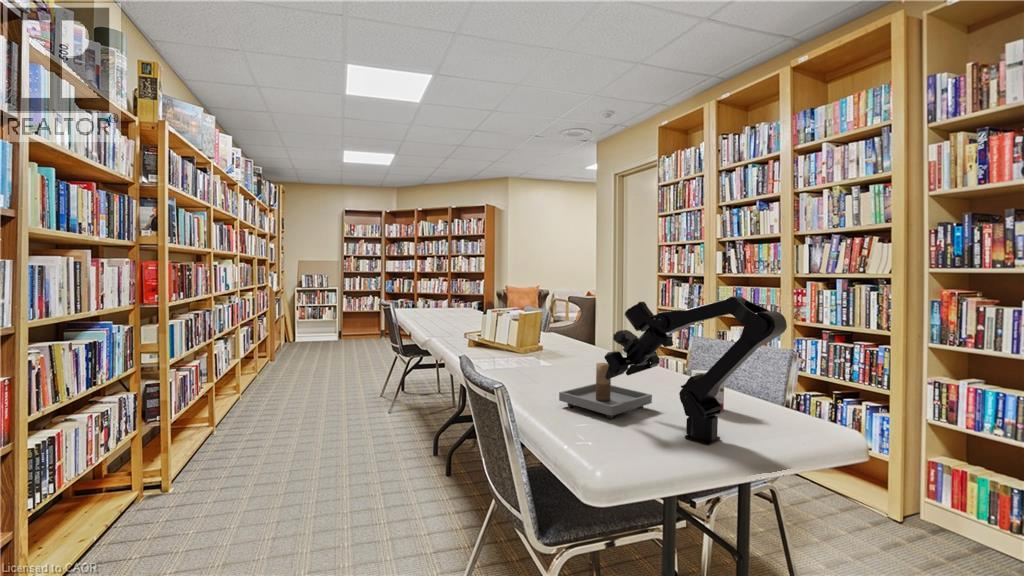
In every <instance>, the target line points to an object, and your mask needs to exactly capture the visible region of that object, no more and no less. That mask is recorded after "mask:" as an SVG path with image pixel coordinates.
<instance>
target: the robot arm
mask: <svg viewBox="0 0 1024 576" xmlns="http://www.w3.org/2000/svg"><path fill="white" fill-rule="evenodd" d="M728 315H731V316H733V317H734V318H735V320H736V321H738V322H739V323H740V324H742V325H743V326H744V327H743V328H742V331H741V334H740V337H739V338H738V340H736V342H735V343H734V344H733V345H732V346H731V347H729V348H728V350H727V351H726V352H725V353H724V354H723V355H722V356H721V357H720V358H719V359H718V360H717V361H716V362H715V363H714V364H713V365H712V366H711V367H710V368H709V369H708V370H706V371H707V373H706V374H705V375H704V374H700V375H696V376H690V377H688V378H687V381H686V382H685V383H683V385H680V388H681V390H680V391H679V394H678V395H679V399H680V403H681V404H682V407H683V410H684V414H685V416H686V417H687V418H686V425H685V426H686V431H685V433H686V435H684V439H687V440H690V441H694V442H696V443H699V444H703V445H707V446H709V445H710V446H711V444H713V443H715V442H718V441H721V437H720V436H718V425H719V424H718V423H719V422H718V420H719V419H718V418H719V416H717V415H720V414H721V413H722V412H721V411H722V408H723V409H724V407H722V406H721V404H720V403H719V402H718V400H717V399H716V398H715V396H716V395H717V393H718V390H719V387H720V385H721V384H722V383H723V382H724V383H725V381H726V380H727V379H728V378H729V377H730V376H731V375H733V373H734V372H735V371H736V370H738V368H739V367H740V366H741V365H743V364H744V362H745V361H746V360H748V359H749V357H751V355H753V353H754V352H756V351H757V350H758V349H759V348H761V347H762V346H764V345H767V344H768V343H771V342H772V341H773V340H775V339H776V338H778V337H779V336H781V335H782V334H783V333H785V331H786V330H787V327H788V325H787V324H788V323H787V320H786V317H785V316H784V315H783V314H782V313H780V312H779V311H775V310H769V309H767V308H765V307H764V306H761V305H758V304H756V303H753V302H752V301H749V300H748V299H746V298H744V297H742V296H740V295H738V296H736V295H735V296H728V297H727V298H725V299H721V300H717V301H714V302H711V303H706V304H702V305H699V306H695V307H691V308H688V309H677V310H674V309H673V310H664V311H659V312H657V314H654V313H653V312H652V310H651V309H650V308H649V307H648V305H647V303H646V302H645V301H638V302H637V303H636V304H634V305H633V306H631V307H630V308H627V309H626V311H625V313H624V316H625V318H626V319H627V321H628V322H629V323H630V324H631V326H632V327H633V328H634V330H635V331H636V332H642V334H641V336H639V337H638V336H637V335H636V334H635V333H633V332H632V331H630V330H627V329H622V330H617V331H615V333H613V338H612V339H613V342H615V343H617V345H621V346H622V347H623V349H622V350H623V352H624V353H626V354H625V355H626V356H625V357H624V356H623V354H622V353H621V351H618V350H614V351H609V352H606V354H605V355H604V360H605V362H606V363H608V364H609V367H608V370H607V373H606V375H605V378H606V379H607V380H608V379H611V380H612V378H615V377H619V376H621V375H623V374H625V375H626V376H631V375H634V374H637V373H641V372H643V371H646V370H649V369H653V368H655V367H657V366H658V365H659V364H660V362H661V361H660V357H659V355H657V354H658V352H656V351H657V350H659V349H660V348H661V347H662V346H663V348H668V347H673V346H674V341H673V336H672V335H671V336H670V335H668V333H677V332H680V331H682V330H684V329H687V328H689V327H691V326H692V325H694V324H696V323H700V322H704V321H708V320H712V319H716V318H721V317H725V316H728Z"/></svg>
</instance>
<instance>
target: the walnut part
mask: <svg viewBox="0 0 1024 576" xmlns="http://www.w3.org/2000/svg"><path fill="white" fill-rule="evenodd" d="M595 367H596V368H595V371H596V373H595V376H596V377H595V384H596V400H597V401H601V402H608V401H610V393H611V385H612V382H611V381H612V378H611V379H608V380H607V379H606V378H605V375H606V373H607V370H608V367H609V364H608V363H607V362H596V365H595Z"/></svg>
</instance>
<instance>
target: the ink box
mask: <svg viewBox="0 0 1024 576" xmlns="http://www.w3.org/2000/svg"><path fill="white" fill-rule="evenodd" d="M707 371H708V370H706V369H705V370H700V369H699V370H697V369H695V370H693V369H692V370H691V376H696V375H700V374H704V375H705V374H706V373H707ZM691 376H690V377H691ZM715 398H716V399H717V400H718V402H719V403H720V404H721V406H722V407H723V408H722V412H724V406H725V405H724V404H725V403H724V400H725V381H724V382H723V383H722V384H721V385H720V387H719V390H718V393H717V395H716V396H715ZM722 412H721V413H722Z"/></svg>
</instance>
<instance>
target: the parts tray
mask: <svg viewBox="0 0 1024 576" xmlns="http://www.w3.org/2000/svg"><path fill="white" fill-rule="evenodd" d="M652 399H653V394H650V393H646V392H642V391H638V390H634V389H633V390H632V389H630V388H625V387H621V386H618V385H612V384H611V393H610V401H608V402H601V401H597V400H596V383H592V384H588V385H584V386H579V387H575V388H572V389H568V390H563V391H559V393H558V400H559V402H563V403H567V406H568V407H569V408H571V407H574V406H577V407H579V408H583V409H587V410H590V411H593V412H597V413H599V414H600V413H601V414H603V415H606V418H607V419H610V420H611V419H613V418H614V416H616V415H619V414H623V413H624V412H628V411H631V410H634V409H638V410H641V409H643V408H644V406H647V405H650V404H653V400H652Z"/></svg>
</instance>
